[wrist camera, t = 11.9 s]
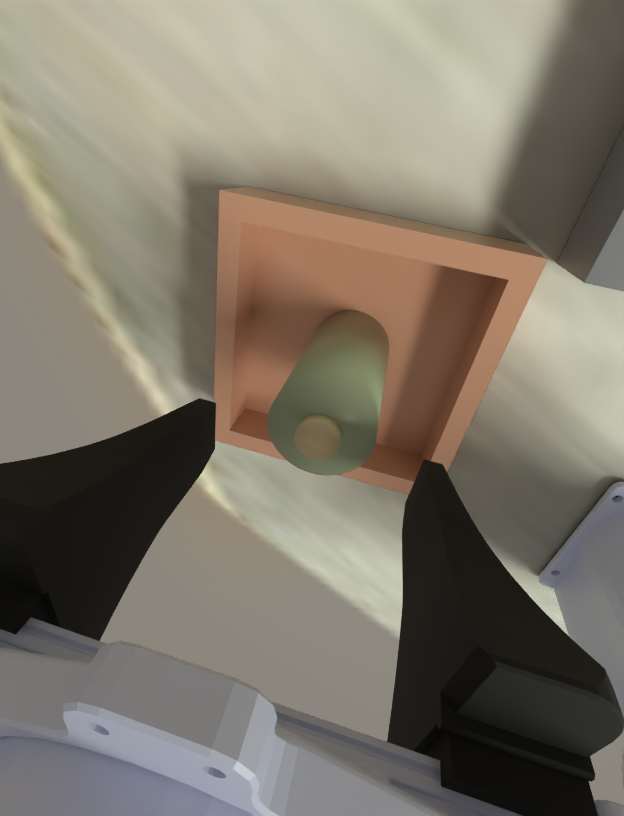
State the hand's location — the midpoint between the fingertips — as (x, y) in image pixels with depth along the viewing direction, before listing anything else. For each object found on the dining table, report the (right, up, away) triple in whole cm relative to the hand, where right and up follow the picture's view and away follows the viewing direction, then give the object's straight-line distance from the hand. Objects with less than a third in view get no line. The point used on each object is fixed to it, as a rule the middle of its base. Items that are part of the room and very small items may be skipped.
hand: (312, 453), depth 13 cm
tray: (+2, +5, +8) cm, 10 cm away
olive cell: (+2, +5, +7) cm, 9 cm away
